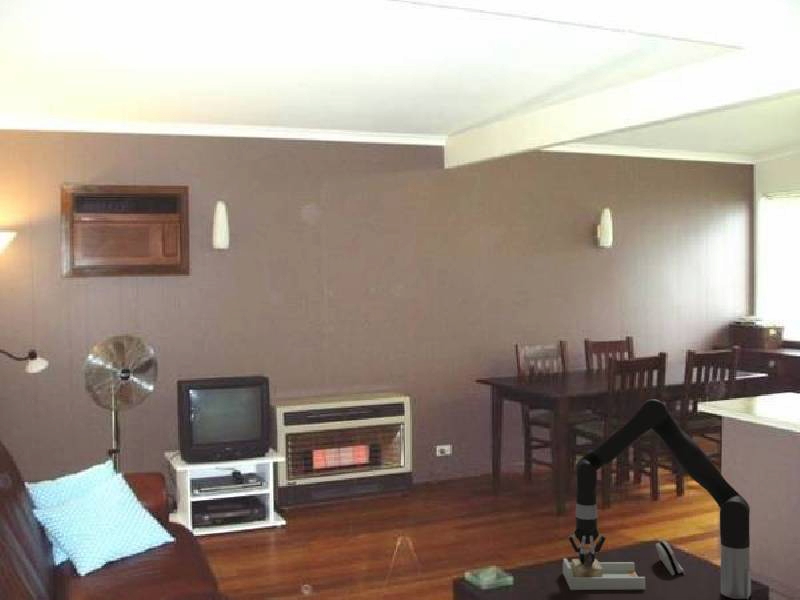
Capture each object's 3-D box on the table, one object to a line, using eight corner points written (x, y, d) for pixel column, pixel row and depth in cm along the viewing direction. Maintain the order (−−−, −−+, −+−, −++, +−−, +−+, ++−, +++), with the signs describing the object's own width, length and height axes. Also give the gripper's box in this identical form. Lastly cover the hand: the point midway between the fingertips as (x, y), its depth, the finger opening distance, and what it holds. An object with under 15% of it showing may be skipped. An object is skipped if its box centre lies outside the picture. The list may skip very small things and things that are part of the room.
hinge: (685, 575, 304) (676, 549, 303) (673, 579, 304) (663, 554, 304) (673, 559, 320) (664, 535, 320) (662, 563, 321) (653, 539, 320)
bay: (633, 572, 307) (633, 556, 307) (645, 589, 291) (645, 572, 291) (562, 573, 307) (562, 557, 307) (570, 589, 292) (570, 572, 291)
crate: (596, 572, 304) (596, 548, 304) (602, 582, 294) (602, 557, 294) (571, 572, 304) (571, 548, 304) (576, 582, 294) (576, 557, 294)
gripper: (603, 512, 302) (604, 559, 303) (565, 512, 302) (565, 559, 303) (608, 518, 295) (608, 566, 295) (568, 518, 295) (569, 567, 296)
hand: (586, 563), depth 299 cm, fingers closed on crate, 2 cm apart
